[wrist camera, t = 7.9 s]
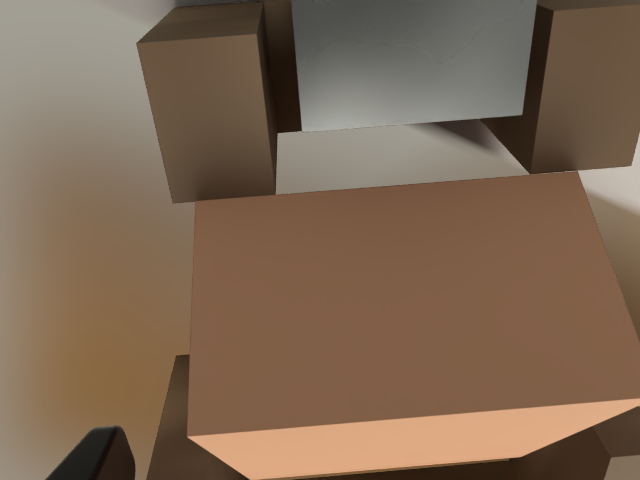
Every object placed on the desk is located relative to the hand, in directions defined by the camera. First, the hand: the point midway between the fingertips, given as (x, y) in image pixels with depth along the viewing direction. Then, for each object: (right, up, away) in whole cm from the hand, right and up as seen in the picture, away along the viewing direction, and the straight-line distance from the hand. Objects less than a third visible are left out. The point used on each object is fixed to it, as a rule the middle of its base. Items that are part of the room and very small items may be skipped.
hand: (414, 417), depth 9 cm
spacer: (0, +2, +3) cm, 4 cm away
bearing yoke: (0, +6, +2) cm, 7 cm away
